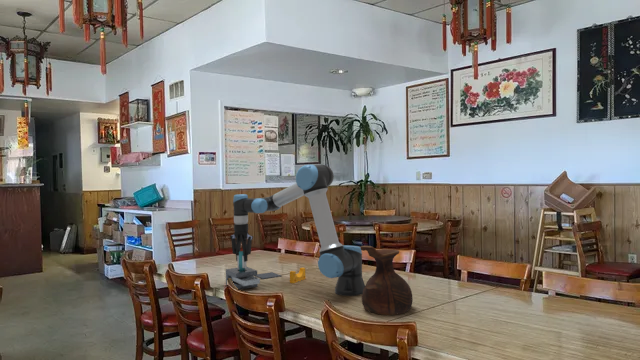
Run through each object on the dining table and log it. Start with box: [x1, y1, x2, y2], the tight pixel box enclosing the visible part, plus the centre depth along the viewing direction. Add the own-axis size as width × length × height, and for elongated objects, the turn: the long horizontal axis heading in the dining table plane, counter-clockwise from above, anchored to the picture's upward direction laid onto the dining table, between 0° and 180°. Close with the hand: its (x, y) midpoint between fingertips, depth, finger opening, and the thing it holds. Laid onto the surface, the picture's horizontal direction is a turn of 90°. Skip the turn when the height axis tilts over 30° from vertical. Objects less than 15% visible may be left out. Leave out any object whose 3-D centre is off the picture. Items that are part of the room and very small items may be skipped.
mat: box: [255, 271, 282, 280], centre depth 284 cm, size 12×12×1 cm
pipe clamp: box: [289, 267, 307, 284], centre depth 270 cm, size 12×4×6 cm, turn 150°
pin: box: [239, 250, 245, 271], centre depth 260 cm, size 3×3×12 cm
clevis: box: [225, 266, 261, 290], centre depth 258 cm, size 20×12×8 cm, turn 33°
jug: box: [360, 245, 413, 316], centre depth 206 cm, size 22×22×30 cm
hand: (242, 267), depth 260 cm, fingers closed on pin, 2 cm apart
